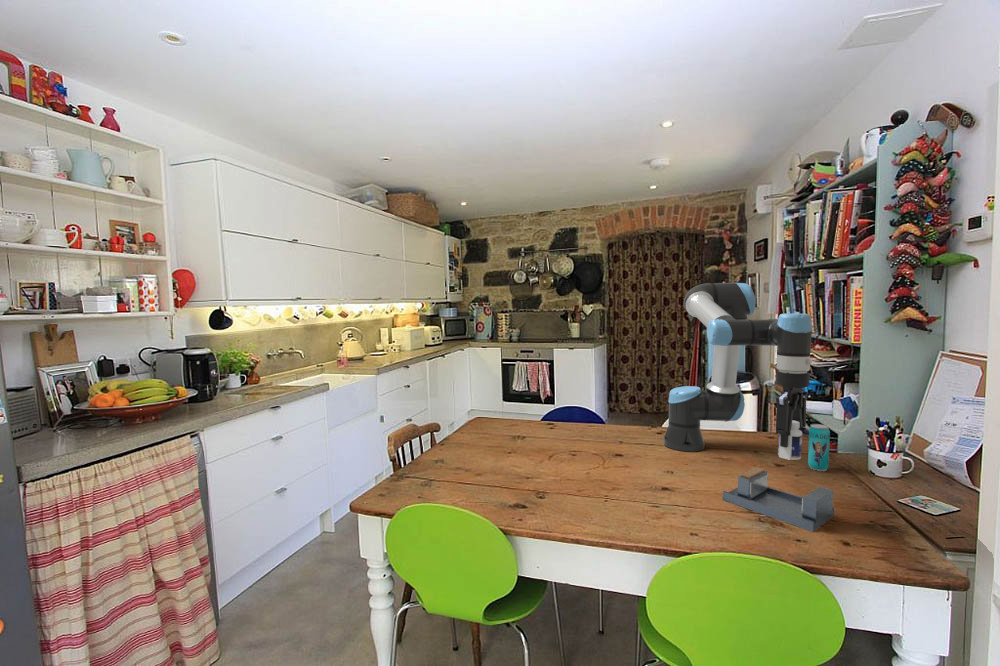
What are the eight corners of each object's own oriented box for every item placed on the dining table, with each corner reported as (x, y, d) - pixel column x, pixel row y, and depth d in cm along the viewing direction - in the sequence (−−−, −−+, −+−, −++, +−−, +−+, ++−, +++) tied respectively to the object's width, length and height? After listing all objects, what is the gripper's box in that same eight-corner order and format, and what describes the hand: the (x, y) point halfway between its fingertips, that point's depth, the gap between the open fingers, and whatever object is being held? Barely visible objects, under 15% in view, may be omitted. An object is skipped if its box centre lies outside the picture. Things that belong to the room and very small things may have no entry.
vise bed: (722, 500, 133) (723, 474, 132) (746, 488, 141) (747, 464, 140) (812, 531, 114) (814, 502, 114) (834, 515, 122) (835, 488, 122)
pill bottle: (776, 457, 124) (777, 422, 123) (779, 452, 128) (780, 417, 127) (799, 461, 120) (801, 425, 120) (802, 456, 124) (804, 421, 124)
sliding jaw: (737, 497, 131) (738, 474, 130) (756, 487, 137) (756, 466, 137) (749, 501, 128) (750, 478, 127) (768, 491, 134) (768, 469, 134)
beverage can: (809, 470, 154) (810, 427, 153) (806, 465, 160) (808, 422, 158) (829, 473, 152) (831, 429, 151) (826, 467, 157) (828, 424, 156)
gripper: (793, 376, 114) (790, 467, 115) (822, 369, 125) (819, 452, 126) (761, 372, 120) (759, 459, 122) (792, 366, 131) (789, 445, 132)
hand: (790, 455), depth 124 cm, fingers closed on pill bottle, 5 cm apart
